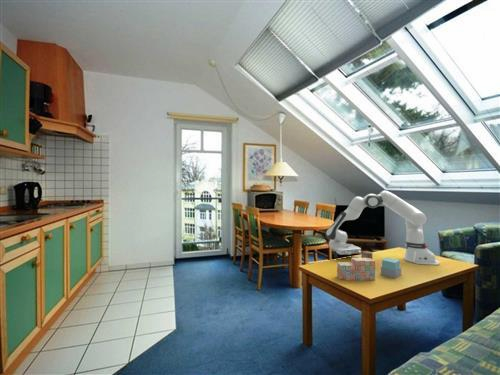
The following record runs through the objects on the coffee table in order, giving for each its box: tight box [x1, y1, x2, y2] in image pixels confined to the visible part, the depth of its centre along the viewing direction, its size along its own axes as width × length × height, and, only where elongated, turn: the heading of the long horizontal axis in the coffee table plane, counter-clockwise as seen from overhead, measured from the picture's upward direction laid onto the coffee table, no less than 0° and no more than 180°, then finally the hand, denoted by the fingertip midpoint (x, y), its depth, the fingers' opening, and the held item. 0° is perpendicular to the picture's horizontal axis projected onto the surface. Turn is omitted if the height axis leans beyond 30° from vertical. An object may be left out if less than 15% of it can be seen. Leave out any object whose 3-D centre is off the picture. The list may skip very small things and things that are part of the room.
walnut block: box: [361, 250, 373, 259], centre depth 181 cm, size 5×5×10 cm
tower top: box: [381, 257, 401, 271], centre depth 164 cm, size 8×8×5 cm
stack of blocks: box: [336, 257, 376, 281], centre depth 159 cm, size 21×6×12 cm, turn 90°
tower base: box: [380, 266, 402, 279], centre depth 165 cm, size 9×9×5 cm
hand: (355, 253), depth 193 cm, fingers open, 8 cm apart
